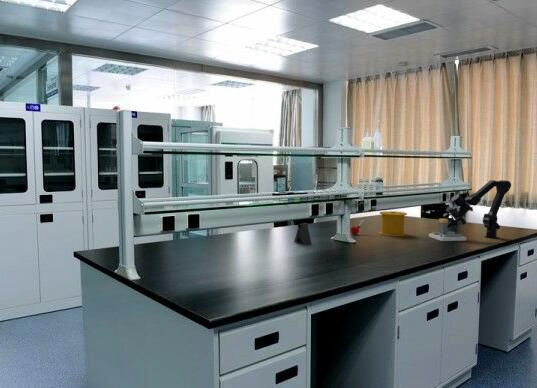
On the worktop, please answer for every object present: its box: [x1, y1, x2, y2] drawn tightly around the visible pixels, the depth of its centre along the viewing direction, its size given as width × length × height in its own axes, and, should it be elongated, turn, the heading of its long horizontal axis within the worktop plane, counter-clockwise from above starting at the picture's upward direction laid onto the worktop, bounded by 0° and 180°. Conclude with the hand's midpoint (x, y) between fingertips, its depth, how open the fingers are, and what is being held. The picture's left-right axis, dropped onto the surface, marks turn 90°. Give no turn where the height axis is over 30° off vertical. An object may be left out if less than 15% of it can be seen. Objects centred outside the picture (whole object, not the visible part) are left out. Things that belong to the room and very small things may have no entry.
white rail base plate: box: [428, 231, 468, 242], centre depth 286 cm, size 17×16×4 cm
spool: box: [378, 210, 408, 237], centre depth 301 cm, size 18×18×15 cm
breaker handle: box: [438, 218, 448, 235], centre depth 285 cm, size 4×6×10 cm, turn 9°
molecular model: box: [349, 219, 367, 235], centre depth 298 cm, size 18×6×10 cm, turn 126°
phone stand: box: [293, 222, 312, 245], centre depth 268 cm, size 9×6×12 cm, turn 43°
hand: (445, 228), depth 285 cm, fingers closed, pressing on breaker handle
